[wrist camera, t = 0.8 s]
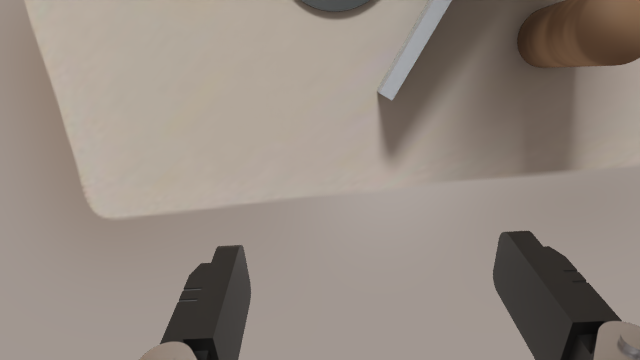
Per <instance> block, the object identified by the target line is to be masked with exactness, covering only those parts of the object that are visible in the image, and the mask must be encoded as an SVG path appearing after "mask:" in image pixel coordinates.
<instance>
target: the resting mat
mask: <svg viewBox="0 0 640 360" xmlns="http://www.w3.org/2000/svg"><path fill="white" fill-rule="evenodd" d="M301 1H303V2H304V3H306V4H308V5H310V6H312V7H314V8H317V9H320V10H324V11H334V12H338V11H346V10H350V9H354V8H356V7H358V6H361V5H363V4H364V3H366V2H368V1H369V0H301Z"/></svg>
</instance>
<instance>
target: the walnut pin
mask: <svg viewBox="0 0 640 360" xmlns="http://www.w3.org/2000/svg"><path fill="white" fill-rule="evenodd" d="M518 49H519V52H520V54H521V56H522V57H523V59H524V60H525V61H526V62H527V63H529V64H531V65H533V66H536V67H541V68H548V67H580V66H612V65H622V64H627V63H629V62H632V61H634V60H636V59H638V58H640V0H565V1H562V2H559V3H556V4H554V5H551V6H548V7H545V8H542V9H540V10H538V11H536V12H534V13H533V14H531V15H530V16H529V17H528V18H527V19H526V20H525V22H524V23H523V25H522V26H521V28H520V31H519V34H518Z"/></svg>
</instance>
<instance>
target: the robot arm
mask: <svg viewBox="0 0 640 360" xmlns="http://www.w3.org/2000/svg"><path fill="white" fill-rule="evenodd" d="M493 280H494V285H495V288H496V291H497V292H498V294H499V296H500V298H501V300H502V301H503V303H504V305H505V307H506V308H507V310H508V312H509V314H510V315H511V317H512V319H513V321H514V323H515V324H516V326H517V328H518V330H519V331H520V333H521V335H522V337H523V338H524V340H525V342H526V344H527V346H528V347H529V349H530V351H531V353H532V354H533V356H534V358H535V360H640V327H639V326H637V325H635V324H631V323H627V322H622V320H621V319H620V318H619V317H618V316H617V315H616V314H615V312H614V311H613V310H612V309H611V308H610V307H609V306H608V304H607V303H606V302H605V301H604V300H603V299H602V298H601V297H600V295H599V294H598V293H597V292H596V291H595V290H594V289H593V287H592V286H591V285H590V284H589V283H587V282H586V279H585V278H584V277H583V276H582V275H581V274H580V273H579V272H577V269H576V268H575V267H574V266H573V265H572V264H571V262H570V261H569V260H568V259H567V258H566V257H565V256H563V255H562V254H560V253H559V252H557V251H556V250H554V249H552V248H551V247H549V246H547V247H543V246H542V245H541V243H540V242H539V241H538V240H537V239H536V237H535V236H534V235H533V234H532V233H531V232H530V231H514V232H503V233H501V235H500V238H499V242H498V248H497V253H496V259H495V265H494V270H493ZM250 297H251V287H250V279H249V274H248V269H247V263H246V258H245V253H244V249H243V246H242V245H234V246H218V247H217V249H216V251H215V254H214V256H213V259H212V262H211V263H202V264H200V265H199V266H198V267H197V268H196V269H195V270H194V271H193V272H192V273H191V274H190V275H189V278H188V280H187V282H186V285H185V287H184V291H183V292H182V294H181V296H180V299H179V302H178V303H177V305H176V308H175V310H174V312H173V315H172V317H171V319H170V322H169V324H168V326H167V329H166V331H165V333H164V336H163V338H162V340H161V343H160V345H158V346H156V347H154V348H152V349H150V350H149V351H148V352H147V353H145V354H144V355H143V356H142V357H141V358H140V359H139V360H238V357H239V352H240V348H241V343H242V338H243V333H244V329H245V323H246V319H247V314H248V309H249V305H250Z"/></svg>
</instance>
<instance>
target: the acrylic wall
mask: <svg viewBox="0 0 640 360" xmlns="http://www.w3.org/2000/svg"><path fill="white" fill-rule="evenodd" d="M451 1H452V0H429V1H428V3H427V5H426V6H425V8H424V10H423V12H422V13H421V15H420V17H419V18H418V20H417V22H416V24H415V25H414V27H413V29H412V31H411V32H410V34H409V36H408V38H407V39H406V41H405V43H404V44H403V46H402V48H401V50H400V51H399V53H398V55H397V57H396V58H395V60H394V62H393V63H392V65H391V67H390V69H389V70H388V72H387V74H386V76H385V77H384V79H383V81H382V82H381V84H380V86H379V88H378V89H377V91H378V92H379V93H380V94H382V95H383V96H385V97H387V98H389V99H390V100H393V98H394V97H395V95H396V93H397V92H398V90H399V88H400V87H401V85H402V83H403V82H404V80H405V78H406V77H407V75H408V73H409V72H410V70H411V68H412V67H413V65H414V63H415V61H416V60H417V58H418V56H419V55H420V53H421V51H422V50H423V48H424V46H425V45H426V43H427V41H428V40H429V38H430V36H431V35H432V33H433V31H434V30H435V28H436V26H437V24H438V23H439V21H440V19H441V18H442V16H443V14H444V13H445V11H446V9H447V8H448V6H449V4H450V3H451Z"/></svg>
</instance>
